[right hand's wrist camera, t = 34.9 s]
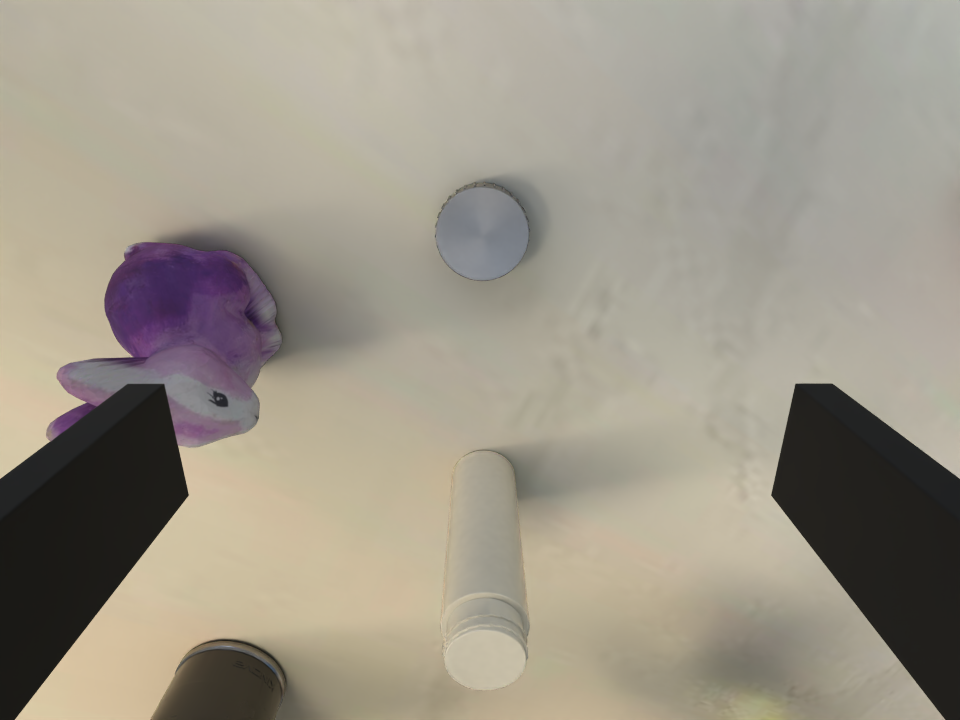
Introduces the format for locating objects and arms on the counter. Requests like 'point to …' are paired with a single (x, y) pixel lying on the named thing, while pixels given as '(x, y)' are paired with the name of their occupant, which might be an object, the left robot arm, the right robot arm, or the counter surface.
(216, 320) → the figurine
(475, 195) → the lid
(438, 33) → the counter surface
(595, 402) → the counter surface
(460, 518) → the jar
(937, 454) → the counter surface
